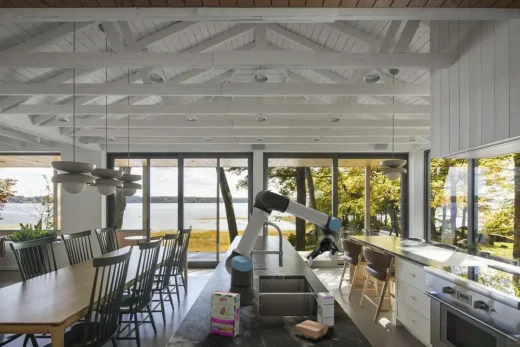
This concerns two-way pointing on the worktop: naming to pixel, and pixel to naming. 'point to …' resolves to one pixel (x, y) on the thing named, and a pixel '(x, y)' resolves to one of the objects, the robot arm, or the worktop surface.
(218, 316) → the candy bar box
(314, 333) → the wood block
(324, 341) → the worktop surface
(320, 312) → the syrup box
